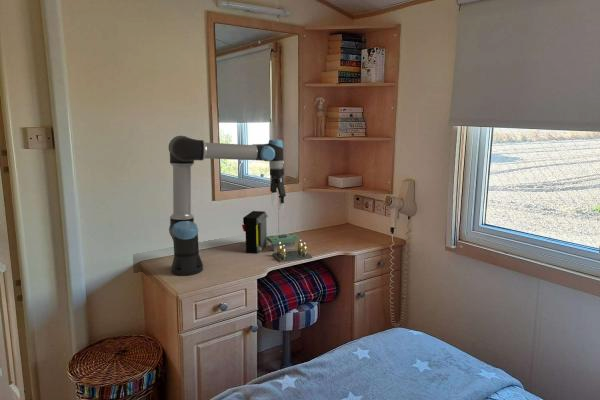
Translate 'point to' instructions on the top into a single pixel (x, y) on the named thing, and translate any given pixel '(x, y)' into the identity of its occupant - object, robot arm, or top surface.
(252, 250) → the electrical component
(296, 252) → the chassis
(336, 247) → the top surface
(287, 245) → the foam block
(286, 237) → the board
